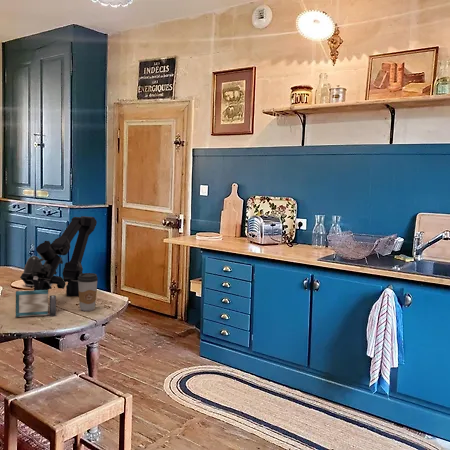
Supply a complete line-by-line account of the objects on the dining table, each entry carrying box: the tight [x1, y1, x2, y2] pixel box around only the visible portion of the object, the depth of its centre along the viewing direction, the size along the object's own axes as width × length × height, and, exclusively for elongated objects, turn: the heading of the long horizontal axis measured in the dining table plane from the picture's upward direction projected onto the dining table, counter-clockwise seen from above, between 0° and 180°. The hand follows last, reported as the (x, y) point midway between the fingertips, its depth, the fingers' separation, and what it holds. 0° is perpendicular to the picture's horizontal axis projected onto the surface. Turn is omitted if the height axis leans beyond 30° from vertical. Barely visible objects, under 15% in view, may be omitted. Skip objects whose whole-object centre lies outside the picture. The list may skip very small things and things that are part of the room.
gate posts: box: [49, 294, 57, 317], centre depth 194 cm, size 18×2×8 cm, turn 76°
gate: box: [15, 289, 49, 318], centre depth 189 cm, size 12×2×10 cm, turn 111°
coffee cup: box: [78, 272, 99, 312], centre depth 202 cm, size 8×8×15 cm
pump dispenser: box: [23, 255, 44, 287], centre depth 236 cm, size 10×10×15 cm
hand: (34, 298), depth 194 cm, fingers closed
